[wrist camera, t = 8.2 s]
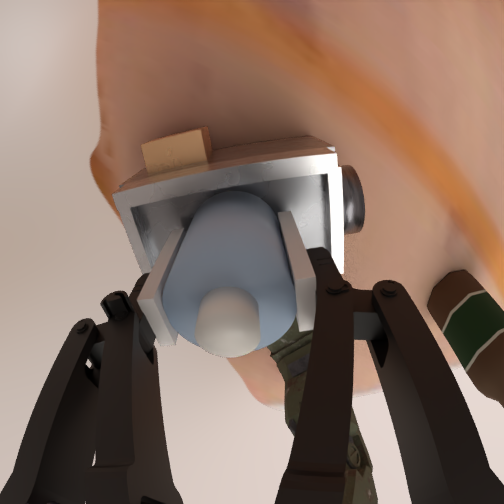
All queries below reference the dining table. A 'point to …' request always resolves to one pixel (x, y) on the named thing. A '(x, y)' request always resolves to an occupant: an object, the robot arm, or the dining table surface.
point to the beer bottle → (472, 330)
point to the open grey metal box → (240, 189)
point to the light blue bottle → (231, 278)
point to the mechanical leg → (294, 374)
